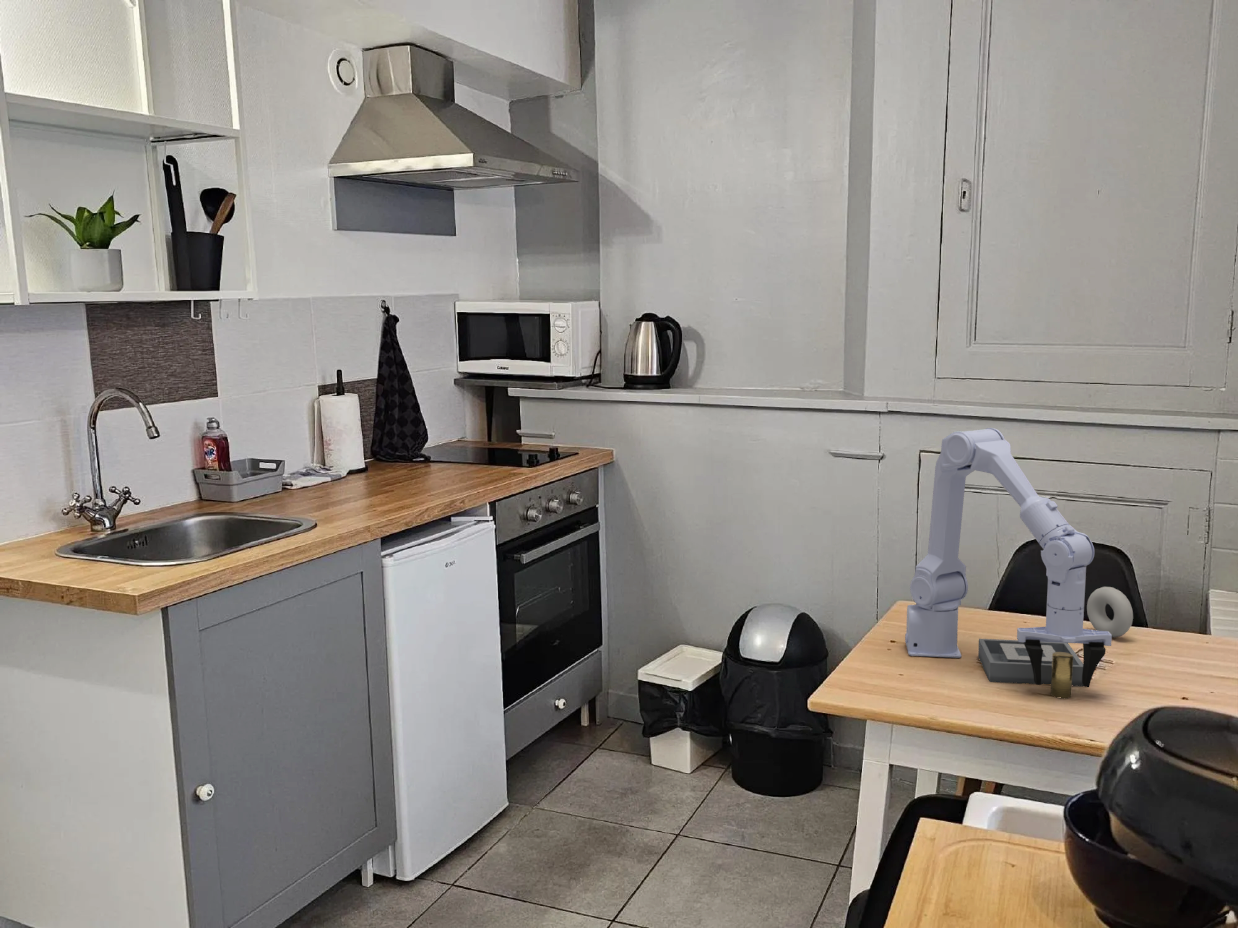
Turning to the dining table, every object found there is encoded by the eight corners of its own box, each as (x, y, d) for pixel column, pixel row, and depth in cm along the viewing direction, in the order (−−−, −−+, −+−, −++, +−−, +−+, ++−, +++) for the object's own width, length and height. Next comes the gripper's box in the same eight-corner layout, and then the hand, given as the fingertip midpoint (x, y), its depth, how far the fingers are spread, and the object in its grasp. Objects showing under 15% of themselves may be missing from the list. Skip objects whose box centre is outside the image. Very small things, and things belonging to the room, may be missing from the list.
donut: (1081, 630, 213) (1084, 582, 211) (1094, 628, 214) (1096, 580, 213) (1122, 644, 204) (1125, 594, 202) (1135, 642, 205) (1138, 592, 203)
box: (989, 681, 185) (990, 662, 184) (978, 656, 198) (978, 638, 197) (1084, 686, 182) (1085, 666, 181) (1066, 660, 195) (1067, 642, 195)
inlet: (1007, 672, 186) (1007, 659, 186) (998, 656, 195) (999, 643, 195) (1061, 675, 185) (1062, 661, 184) (1050, 658, 193) (1051, 645, 193)
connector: (1052, 697, 177) (1054, 657, 176) (1048, 691, 180) (1050, 651, 179) (1073, 698, 176) (1075, 658, 175) (1068, 691, 179) (1070, 652, 178)
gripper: (1023, 610, 173) (1020, 690, 175) (1118, 614, 171) (1113, 694, 173) (1016, 599, 180) (1012, 675, 182) (1107, 602, 178) (1102, 679, 180)
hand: (1061, 683), depth 178 cm, fingers open, 7 cm apart
